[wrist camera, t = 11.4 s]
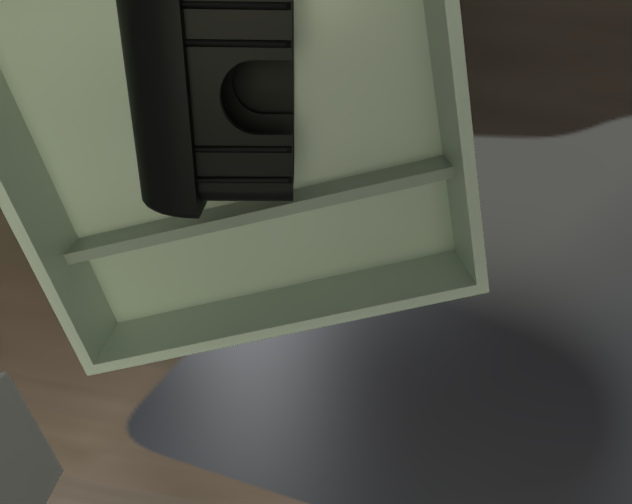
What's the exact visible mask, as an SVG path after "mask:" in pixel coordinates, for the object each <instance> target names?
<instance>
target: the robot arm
mask: <svg viewBox="0 0 632 504" xmlns="http://www.w3.org/2000/svg"><path fill="white" fill-rule="evenodd" d="M62 472H63V468H62V467H61V465H60V463H59V461H58V460H57V458H56V456H55V454H54V453H53V451H52V449H51V447H50V445H49V444H48V442H47V440H46V438H45V437H44V435H43V433H42V431H41V430H40V428H39V426H38V424H37V423H36V421H35V419H34V417H33V416H32V414H31V412H30V410H29V409H28V407H27V405H26V403H25V402H24V400H23V398H22V396H21V395H20V393H19V391H18V389H17V387H16V386H15V384H14V382H13V380H12V379H11V377H10V375H9V373H8V372H7V371H6V372H1V373H0V504H46V502H47V501H48V499H49V497H50V495H51V493H52V491H53V489H54V487H55V485H56V484H57V482H58V480H59V478H60V476H61V474H62Z"/></svg>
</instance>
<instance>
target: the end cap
mask: <svg viewBox="0 0 632 504" xmlns="http://www.w3.org/2000/svg"><path fill="white" fill-rule="evenodd" d="M116 6H117V14H118V21H119V29H120V37H121V44H122V52H123V59H124V67H125V74H126V82H127V89H128V97H129V104H130V112H131V120H132V127H133V135H134V142H135V150H136V157H137V165H138V172H139V180H140V188H141V195H142V201H143V202H144V203H145V205H146V206H147V207H148V208H150V209H152V210H153V211H155V212H158V213H160V214H163V215H168V216H172V217H179V218H190V219H199V218H200V216H201V214H202V212H203V210H204V207H205V205H206V203H207V201H293V193H294V190H293V184H294V0H116Z"/></svg>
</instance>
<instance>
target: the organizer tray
mask: <svg viewBox="0 0 632 504" xmlns="http://www.w3.org/2000/svg"><path fill="white" fill-rule="evenodd" d="M293 190H294V193H293V201H207V203H206V205H205V207H204V210H203V212H202V214H201V216H200V218H199V219H190V218H179V217H172V216H168V215H163V214H160V213H158V212H155V211H153V210H152V209H150V208H148V207H147V206H146V205H145V203H144V202H143V201H142V195H141V188H140V180H139V172H138V165H137V157H136V150H135V142H134V135H133V127H132V120H131V112H130V104H129V97H128V89H127V82H126V74H125V67H124V59H123V52H122V44H121V37H120V29H119V21H118V14H117V6H116V0H0V207H1V209H2V211H3V213H4V215H5V217H6V219H7V221H8V223H9V225H10V227H11V229H12V231H13V233H14V235H15V237H16V238H17V240H18V242H19V244H20V246H21V248H22V250H23V252H24V254H25V256H26V258H27V260H28V262H29V264H30V266H31V268H32V269H33V271H34V273H35V275H36V277H37V279H38V281H39V283H40V285H41V287H42V289H43V291H44V293H45V295H46V297H47V299H48V301H49V302H50V304H51V306H52V308H53V310H54V312H55V314H56V316H57V318H58V320H59V322H60V324H61V326H62V328H63V330H64V332H65V333H66V335H67V337H68V339H69V341H70V343H71V345H72V347H73V349H74V351H75V353H76V355H77V357H78V359H79V361H80V363H81V365H82V366H83V368H84V370H85V372H86V374H87V376H90V375H94V374H99V373H104V372H109V371H114V370H118V369H123V368H128V367H133V366H138V365H142V364H147V363H152V362H157V361H162V360H166V359H171V358H176V357H181V356H186V355H190V354H195V353H200V352H204V351H210V350H214V349H219V348H224V347H229V346H234V345H238V344H243V343H248V342H253V341H257V340H262V339H267V338H272V337H276V336H282V335H286V334H291V333H296V332H301V331H306V330H311V329H315V328H320V327H325V326H330V325H335V324H339V323H344V322H349V321H354V320H359V319H363V318H368V317H373V316H378V315H383V314H387V313H392V312H397V311H401V310H407V309H411V308H416V307H421V306H426V305H431V304H435V303H440V302H445V301H450V300H455V299H459V298H464V297H469V296H474V295H478V294H483V293H488V292H489V283H488V274H487V264H486V254H485V246H484V245H485V244H484V235H483V225H482V215H481V205H480V195H479V186H478V176H477V167H476V157H475V147H474V137H473V127H472V117H471V108H470V98H469V88H468V78H467V69H466V59H465V49H464V39H463V30H462V20H461V10H460V0H294V184H293Z"/></svg>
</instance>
